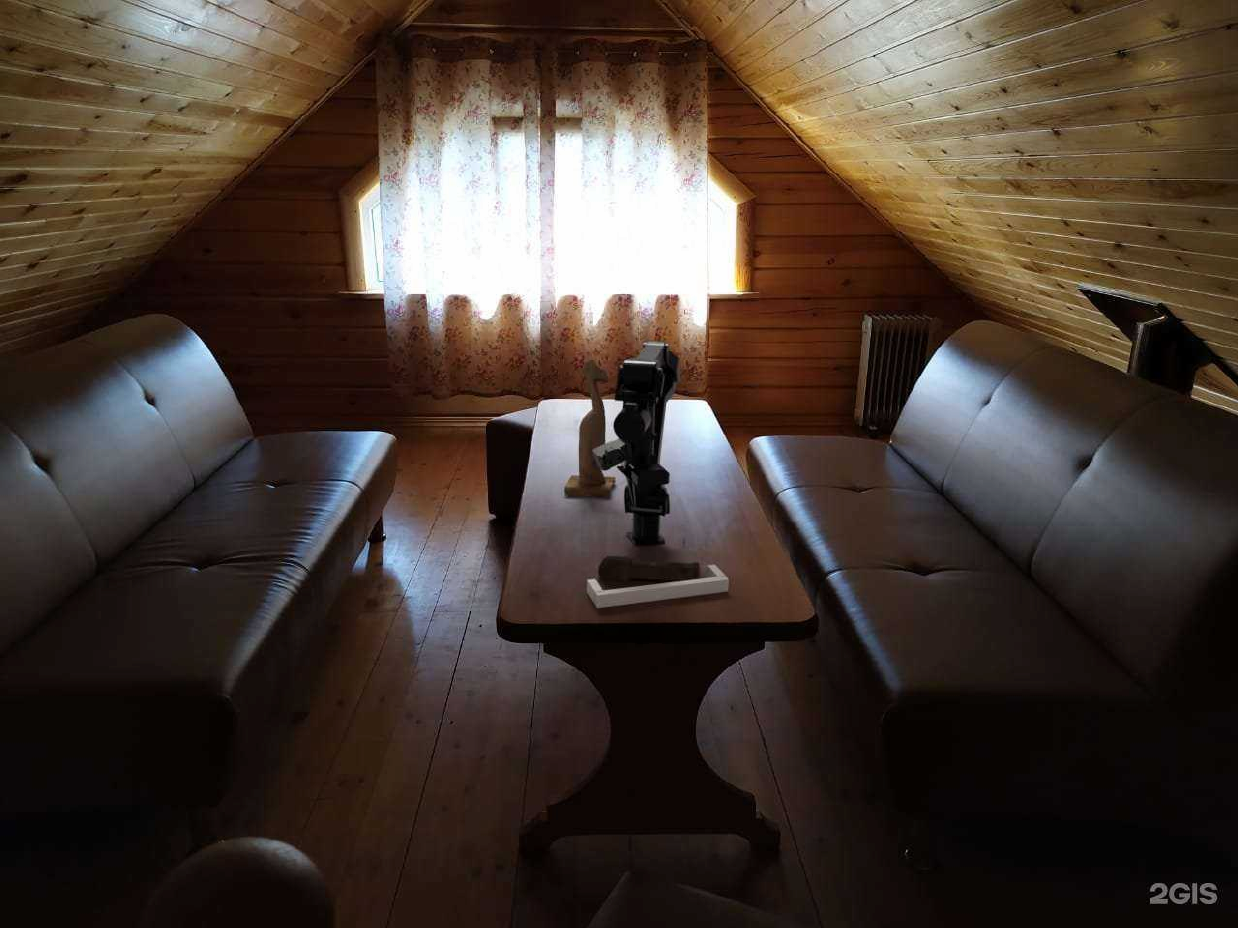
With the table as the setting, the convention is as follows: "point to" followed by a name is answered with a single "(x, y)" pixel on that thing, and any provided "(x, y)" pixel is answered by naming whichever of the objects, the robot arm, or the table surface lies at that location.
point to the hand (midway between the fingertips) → (636, 505)
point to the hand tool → (646, 569)
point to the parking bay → (658, 590)
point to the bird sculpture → (591, 442)
